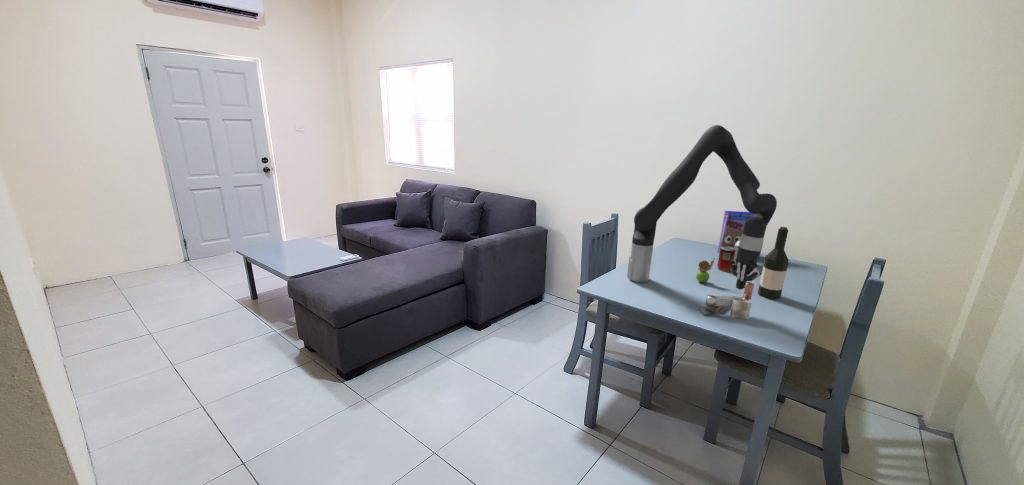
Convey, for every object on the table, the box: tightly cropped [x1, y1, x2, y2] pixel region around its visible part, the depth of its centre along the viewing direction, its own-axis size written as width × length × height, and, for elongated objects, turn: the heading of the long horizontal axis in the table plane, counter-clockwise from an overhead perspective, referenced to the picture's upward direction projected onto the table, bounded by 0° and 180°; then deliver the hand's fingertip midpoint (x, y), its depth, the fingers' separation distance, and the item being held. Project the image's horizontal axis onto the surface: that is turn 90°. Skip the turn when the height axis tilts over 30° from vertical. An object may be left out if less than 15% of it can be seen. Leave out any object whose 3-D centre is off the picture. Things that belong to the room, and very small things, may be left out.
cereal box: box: [717, 210, 754, 254], centre depth 225 cm, size 17×5×24 cm, turn 81°
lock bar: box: [705, 281, 755, 307], centre depth 155 cm, size 16×4×9 cm, turn 87°
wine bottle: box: [757, 226, 790, 301], centre depth 170 cm, size 8×8×30 cm
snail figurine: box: [695, 257, 715, 283], centre depth 186 cm, size 5×6×12 cm
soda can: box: [717, 246, 735, 272], centre depth 203 cm, size 7×7×12 cm
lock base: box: [698, 295, 753, 319], centre depth 160 cm, size 16×15×6 cm
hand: (739, 288), depth 158 cm, fingers closed
